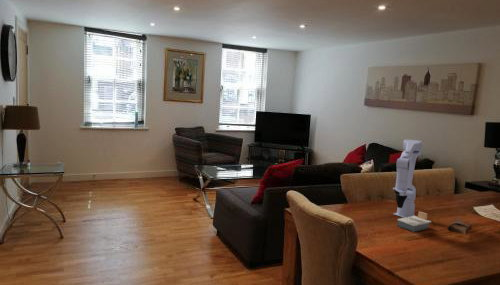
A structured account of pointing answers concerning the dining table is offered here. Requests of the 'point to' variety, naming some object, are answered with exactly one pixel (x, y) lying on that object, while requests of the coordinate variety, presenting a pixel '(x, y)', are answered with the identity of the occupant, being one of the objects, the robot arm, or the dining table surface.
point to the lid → (416, 219)
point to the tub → (413, 228)
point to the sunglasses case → (458, 226)
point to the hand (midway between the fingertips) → (399, 205)
